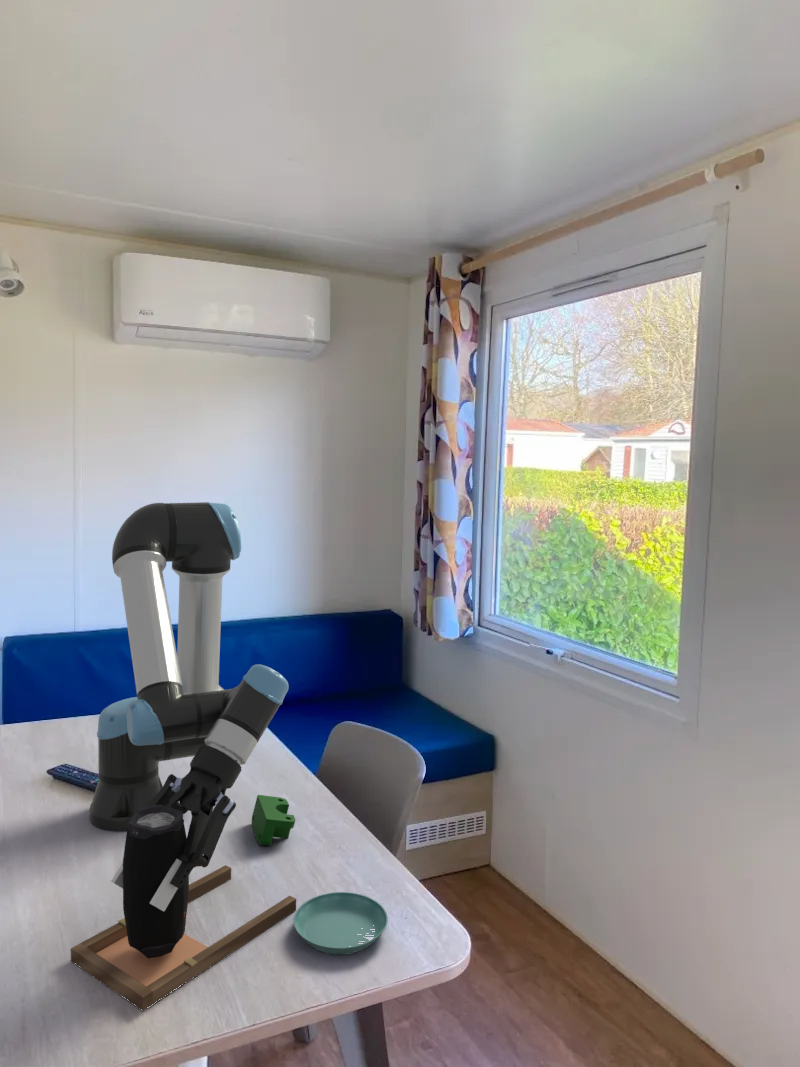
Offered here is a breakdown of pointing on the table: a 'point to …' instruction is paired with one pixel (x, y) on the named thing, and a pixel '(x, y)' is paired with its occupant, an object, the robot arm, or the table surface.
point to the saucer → (340, 922)
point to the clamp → (271, 819)
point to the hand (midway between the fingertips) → (137, 896)
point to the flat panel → (149, 959)
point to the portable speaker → (153, 879)
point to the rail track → (192, 966)
